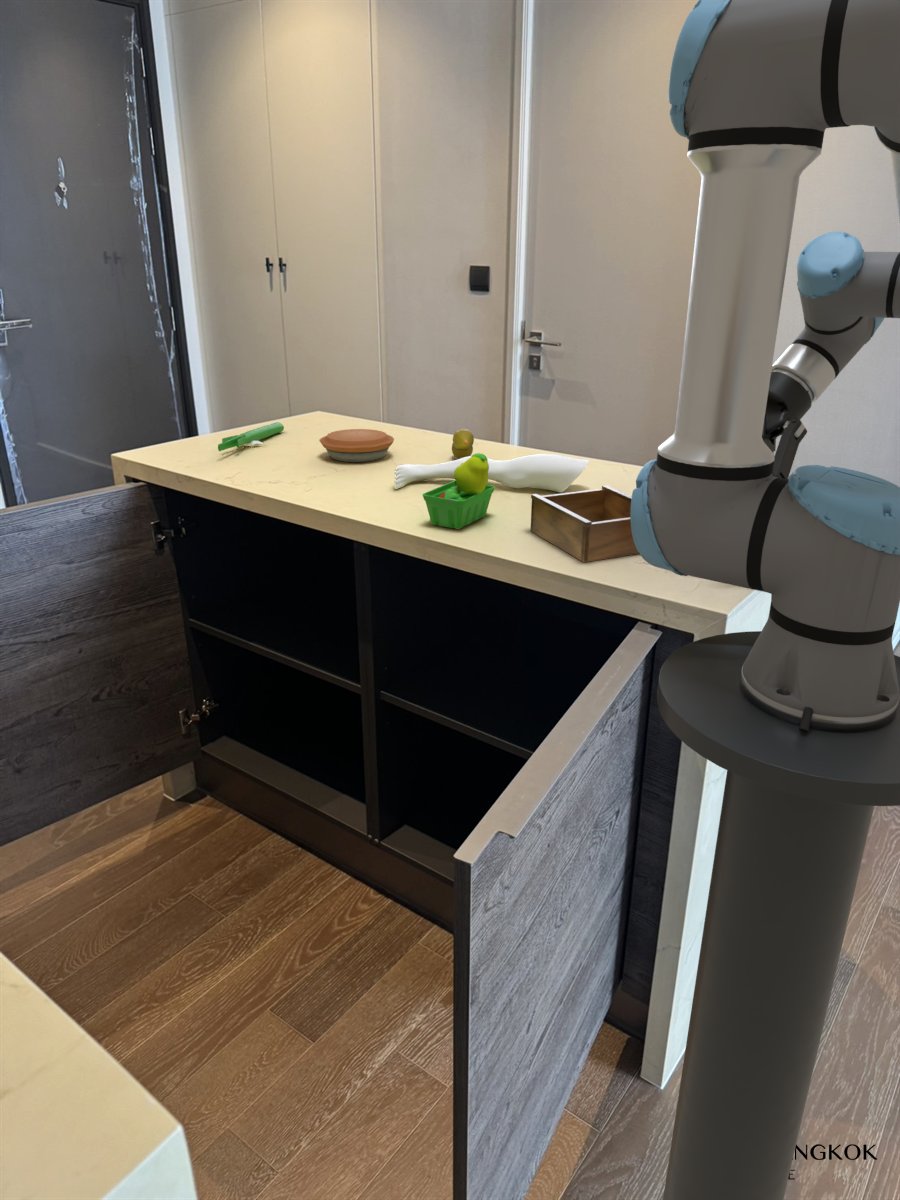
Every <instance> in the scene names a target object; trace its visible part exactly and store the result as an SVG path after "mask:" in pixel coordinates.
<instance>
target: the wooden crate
mask: <svg viewBox="0 0 900 1200" xmlns="http://www.w3.org/2000/svg"><path fill="white" fill-rule="evenodd" d="M530 498H531V508H530V509H531V510H530V511H531V512H530V532H531V533H533V534H535V535H537V536H538V537H540V538H541V539H543V540H545V541H547V542H548V543H550V544H552V545H554V546H555V547H557V548H559V549H560V550H562V551H564V552H566V553H567V554H568V555H570V556H572V557H574V558H575V559H577V560H578V561H581V563H589V562H595V561H601V560H607V559H608V560H609V559H615V558H619V557H626V556H633V555H634V556H635V555H641V554H640V553H639V552H638V550H637V548H636V546H635V543H634V540H633V536H632V530H631V518H630V513H631V499H632V495H630V494H628V493H626V492H623V491H622V490H619V489H616V488H615V487H612V486H610V485H608V484H607V485H601V488H596V489H587V490H577V491H571V492H562V493H554V494H546V495H539V494H538V493H532V494H530Z"/></svg>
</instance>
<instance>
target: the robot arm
mask: <svg viewBox="0 0 900 1200" xmlns="http://www.w3.org/2000/svg"><path fill="white" fill-rule="evenodd" d="M667 94H668V96H667V97H668V103H669V104H670V105H671V106H670V109H669V117H670V122H671V125H672V127H673V129H674V131H675V132H676V133H677V134H678V135H679V136H680V137H683V138H687V140H688V146H687V158H688V160H689V161H690V163H692V165H693V166H694V167H695V168H696V169H697V171H698V172H699V175H700V178H701V182H700V189H699V190H700V191H699V201H698V209H697V210H698V211H697V219H696V229H695V237H694V246H693V258H692V266H691V275H690V284H689V294H688V302H687V312H686V322H685V331H684V340H683V349H682V350H683V351H682V359H681V361H682V362H681V369H680V377H679V388H678V396H677V405H676V415H675V423H674V424H675V425H674V431H673V434H672V435H670V436H669V437H668V438H667V439H665V440H664V441H663V442H662V443H661V444H660V445H658V447H657V454H656V458H655V459H652V460H649V461H648V462H646V463H644V465H643V466H642V468H641V469H640V470H639V472H638V474H637V477H636V480H635V485H636V486H635V488H634V489H633V490H632V493H631V496H632V499H631V513H630V518H631V530H632V536H633V540H634V543H635V546H636V548H637V550H638V552H639V553H640V554H639V555H640V556H641V558H642V559H643V560H644V561H645V562H646V563H647V564H649V565H651V566H653V567H656V568H659V569H662V570H665V571H669V572H672V573H674V574H675V575H678V576H684V577H692V578H698V579H703V580H707V581H712V582H716V583H721V584H724V585H725V584H726V585H731V586H735V587H741V588H743V589H749V590H755V591H759V592H763V593H767V594H770V596H771V597H770V605H769V612H768V618H767V621H766V622H765V624H764V626H763V628H762V629H761V630H760V631H761V633H760V635H759V637H758V638H757V640H756V642H755V644H754V646H753V647H752V649H751V650H750V652H749V654H748V655H747V657H746V660H745V662H744V664H743V666H742V672H741V679H740V688H741V691H742V693H743V694H744V696H745V697H746V698H747V699H748V700H749V701H750V702H751V703H752V704H753V705H755V706H756V707H757V708H759V709H760V710H762V711H764V712H765V713H767V714H769V715H771V716H773V717H775V718H778V719H780V720H783V721H785V722H788V723H791V724H794V725H798V726H800V727H799V730H800V731H801V732H805V733H807V732H808V731H809V728H810V729H815V730H821V731H828V732H842V733H852V732H864V731H870V730H874V729H878V728H880V727H883V726H885V725H887V724H888V723H890V722H891V721H892V720H893V719H894V717H895V715H896V712H897V708H898V704H899V699H900V694H899V685H898V679H897V672H896V666H895V659H894V655H895V654H894V648H893V635H894V630H895V625H896V621H897V617H898V613H899V608H900V486H899V485H897V484H895V483H893V482H891V481H889V480H886V479H884V478H881V477H878V476H876V475H873V474H869V473H866V472H863V471H859V470H854V469H849V468H845V467H839V466H832V465H831V466H825V465H819V464H809V465H802V466H798V467H797V468H794V470H793V471H792V467H793V464H794V461H795V457H796V455H797V452H798V449H799V447H800V443H801V442H802V440H803V439H804V438H805V436H806V435H807V433H808V429H807V428H806V427H805V425H804V424H803V422H802V419H803V417H804V416H805V415H806V414H807V412H809V411H810V409H811V408H812V406H813V405H812V404H813V403H815V402H816V401H818V400H819V398H820V397H821V396H822V394H823V393H824V392H825V391H826V390H827V389H828V387H829V386H830V385H831V384H832V383H833V381H835V379H836V378H837V377H838V375H840V373H841V372H842V371H843V370H844V369H845V367H846V366H847V365H848V364H849V363H850V362H851V361H852V359H853V358H854V357H855V356H856V355H857V354H858V353H859V352H860V350H862V348H863V347H864V346H865V345H866V344H867V343H868V342H870V341H871V339H872V338H873V337H874V335H875V333H876V332H877V330H878V329H879V327H880V326H881V325H882V324H883V322H884V320H885V319H900V251H865V249H863V246H862V243H861V241H860V239H859V238H857V237H856V236H854V235H852V234H849V233H848V232H845V231H831V232H826V233H823V234H821V235H818V236H816V237H815V238H813V239H812V240H810V241H809V242H808V243H807V244H806V245H805V246H804V247H803V249H802V250H801V251H800V253H799V255H798V256H797V260H796V261H797V262H796V275H797V281H796V287H797V290H798V293H799V298H800V303H801V308H802V314H803V315H802V316H803V321H804V327H803V329H802V330H801V332H800V333H799V334H798V335H797V336H796V338H795V340H793V342H791V344H790V345H789V346H788V347H787V348H786V349H785V350H784V352H782V354H781V355H780V356H779V357H778V358H777V359H776V360H775V361H774V355H775V349H776V342H777V334H778V328H779V322H780V321H779V320H780V316H781V315H780V314H781V308H782V301H783V293H784V287H785V280H786V273H787V267H788V259H789V252H790V245H791V239H792V232H793V226H794V225H793V224H794V217H795V211H796V203H797V197H798V190H799V185H800V184H799V183H800V177H801V175H802V174H803V172H804V170H806V169H807V168H808V167H809V166H810V165H811V164H812V163H813V162H814V161H815V160H817V158H818V157H819V156H820V155H822V150H823V143H824V137H825V131H826V129H833V128H845V127H846V128H848V127H851V126H868V127H873V128H874V132H875V136H876V137H877V139H878V141H879V142H880V143H881V144H882V146H883V147H884V148H886V150H888V151H890V159H891V167H892V173H893V183H894V189H895V196H896V197H895V198H896V204H897V205H896V206H897V212H898V220H899V222H900V0H697V2H696V4H694V7H693V8H692V10H691V11H690V12H689V13H688V15H687V17H686V18H685V21H684V23H683V25H682V28H681V30H680V32H679V35H678V38H677V40H676V45H675V48H674V51H673V55H672V60H671V66H670V72H669V80H668V93H667ZM773 362H774V363H773ZM778 437H780V439H779V442H778V444H777V439H778ZM776 446H777V448H776ZM774 452H775V453H774ZM791 471H792V473H791ZM790 473H791V474H790Z"/></svg>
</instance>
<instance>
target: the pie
mask: <svg viewBox="0 0 900 1200" xmlns="http://www.w3.org/2000/svg"><path fill="white" fill-rule="evenodd" d="M318 441H319V443H320V444H321V446H322V447H323V448H325V451H326V452H327V453H328V455H329V457H330V458H331V459H333V460H335V461H338V462H342V463H343V462H344V463H368V462H374V461H378V460H381V459H383V458H385V456H386V454H387V452H388V450H389V448H390V447H391V446H392V445H393V444H394V441H395V438H394V437H393V436H392V435H390V434H387V432H384V431H383V430H378V429H368V428H351V429H349V428H348V429H339V430H335V431H331V432H329V433H327V435H324V436H323V437H320V439H319V440H318Z"/></svg>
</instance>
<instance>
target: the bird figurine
mask: <svg viewBox="0 0 900 1200" xmlns="http://www.w3.org/2000/svg"><path fill="white" fill-rule="evenodd" d="M474 442H475V438H474V435H473V433H472V431H471V430H469V429H467V428H461V429H458V430H456V431H455V432H454V433H453V435H452V445H451V452H452V455H453V456H454V457H455V458H456V459H457V460H458V459H460V458H464V457H468V456H472V455H473V451H474V446H473V445H474Z"/></svg>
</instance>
